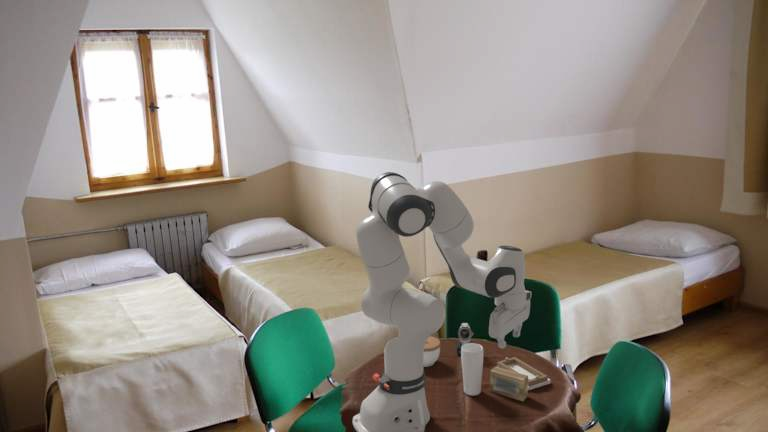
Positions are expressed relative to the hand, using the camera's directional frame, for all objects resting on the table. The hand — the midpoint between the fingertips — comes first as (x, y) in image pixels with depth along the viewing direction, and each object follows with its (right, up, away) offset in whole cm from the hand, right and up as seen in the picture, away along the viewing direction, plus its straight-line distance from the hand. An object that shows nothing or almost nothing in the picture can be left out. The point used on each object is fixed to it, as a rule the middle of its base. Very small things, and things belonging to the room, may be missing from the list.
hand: (509, 341), depth 184 cm
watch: (-9, -11, +33) cm, 35 cm away
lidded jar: (-24, -13, +26) cm, 38 cm away
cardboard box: (0, -17, +4) cm, 17 cm away
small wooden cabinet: (+7, -14, +14) cm, 21 cm away
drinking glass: (-10, -17, +5) cm, 21 cm away
